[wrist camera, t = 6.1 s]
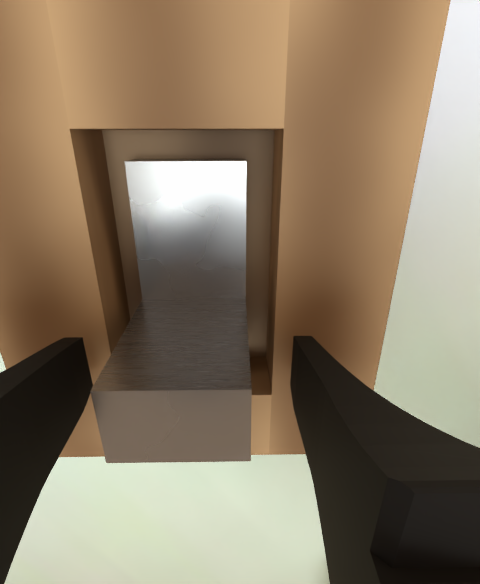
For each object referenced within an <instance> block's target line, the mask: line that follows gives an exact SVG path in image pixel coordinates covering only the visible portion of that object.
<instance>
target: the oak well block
mask: <svg viewBox="0 0 480 584" xmlns="http://www.w3.org/2000/svg"><path fill="white" fill-rule="evenodd" d="M449 5H450V0H0V352H1V355H2V358H3V361H4V364H5V367H6V370H7V369H8V368H10V367H12V366H14V365H15V364H17V363H19V362H21V361H22V360H24V359H26V358H28V357H29V356H31V355H33V354H34V353H36V352H38V351H40V350H41V349H43V348H45V347H47V346H48V345H50V344H52V343H54V342H56V341H58V340H60V339H62V338H64V337H83V342H84V346H85V351H86V355H87V360H88V365H89V369H90V374H91V378H92V383H93V385H94V384H95V382H96V380H97V378H98V377H99V375H100V373H101V371H102V370H103V368H104V366H105V364H106V362H107V361H108V359H109V357H110V355H111V354H112V352H113V350H114V348H115V347H116V345H117V343H118V341H119V340H120V338H121V336H122V334H123V333H124V331H125V329H126V327H127V326H128V324H129V322H130V320H131V318H132V317H133V315H134V313H135V311H136V310H137V308H138V306H139V304H140V303H141V301H142V292H141V285H140V277H139V269H138V262H137V254H136V246H135V238H134V231H133V223H132V215H131V208H130V200H129V192H128V185H127V177H126V169H125V161H129V160H133V159H246V311H247V326H248V341H249V356H250V371H251V386H252V403H251V455H269V454H306V452H305V449H304V445H303V442H302V438H301V434H300V431H299V427H298V424H297V420H296V416H295V413H294V408H293V401H292V394H291V387H290V378H291V364H292V350H293V337H294V336H312V337H313V338H314V339H315V340H316V341H317V342H318V343H319V344H320V345H321V346H322V347H323V348H324V349H325V350H326V351H327V352H328V353H329V354H330V355H332V356H333V357H334V358H335V359H336V360H337V361H338V362H339V363H340V364H341V365H342V366H343V367H345V368H346V369H347V370H348V371H349V372H350V373H352V374H353V375H354V376H355V377H356V378H358V379H359V380H360V381H361V382H363V383H364V384H365V385H366V386H368V387H369V388H370V389H372V390H374V385H375V380H376V375H377V370H378V365H379V360H380V355H381V350H382V345H383V339H384V334H385V329H386V324H387V319H388V314H389V309H390V304H391V299H392V294H393V289H394V284H395V279H396V274H397V269H398V264H399V258H400V253H401V248H402V243H403V238H404V233H405V228H406V223H407V218H408V213H409V208H410V203H411V198H412V193H413V188H414V183H415V177H416V172H417V167H418V162H419V157H420V152H421V147H422V142H423V137H424V132H425V127H426V122H427V117H428V112H429V107H430V102H431V96H432V91H433V86H434V81H435V76H436V71H437V66H438V61H439V56H440V51H441V46H442V41H443V36H444V31H445V26H446V21H447V15H448V10H449ZM98 456H105V455H104V450H103V446H102V441H101V437H100V433H99V428H98V424H97V419H96V415H95V410H94V406H93V402H92V397H91V393H90V396H89V399H88V401H87V404H86V406H85V409H84V411H83V413H82V415H81V417H80V419H79V421H78V423H77V425H76V426H75V428H74V430H73V432H72V434H71V436H70V437H69V439H68V441H67V443H66V445H65V446H64V448H63V450H62V452H61V454H60V455H59V457H98Z"/></svg>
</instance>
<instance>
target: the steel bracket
mask: <svg viewBox="0 0 480 584" xmlns="http://www.w3.org/2000/svg"><path fill="white" fill-rule="evenodd" d="M125 169H126V177H127V185H128V192H129V200H130V208H131V215H132V223H133V231H134V238H135V246H136V254H137V262H138V269H139V277H140V285H141V292H142V301H141V303H140V304H139V306H138V308H137V310H136V311H135V313H134V315H133V317H132V318H131V320H130V322H129V324H128V326H127V327H126V329H125V331H124V333H123V334H122V336H121V338H120V340H119V341H118V343H117V345H116V347H115V348H114V350H113V352H112V354H111V355H110V357H109V359H108V361H107V362H106V364H105V366H104V368H103V370H102V371H101V373H100V375H99V377H98V378H97V380H96V382H95V384H94V385H93V387H92V389H91V391H90V393H91V397H92V402H93V406H94V410H95V415H96V419H97V424H98V428H99V433H100V437H101V441H102V446H103V450H104V455H105V459H106V463H138V462H219V461H251V403H252V386H251V371H250V356H249V341H248V326H247V311H246V159H133V160H129V161H125Z"/></svg>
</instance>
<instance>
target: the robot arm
mask: <svg viewBox="0 0 480 584" xmlns="http://www.w3.org/2000/svg"><path fill="white" fill-rule="evenodd" d="M92 387H93V383H92V378H91V374H90V369H89V365H88V360H87V355H86V351H85V346H84V342H83V337H64V338H62V339H60V340H58V341H56V342H54V343H52V344H50V345H48V346H47V347H45V348H43V349H41V350H40V351H38V352H36V353H34V354H33V355H31V356H29V357H28V358H26V359H24V360H22V361H21V362H19V363H17V364H15V365H14V366H12V367H10V368H8V369H7V370H5V371H3V372H1V373H0V584H4V583H5V580H6V577H7V574H8V572H9V569H10V566H11V563H12V561H13V558H14V555H15V553H16V550H17V548H18V545H19V543H20V540H21V538H22V535H23V533H24V530H25V528H26V525H27V523H28V520H29V518H30V515H31V513H32V511H33V508H34V506H35V504H36V501H37V499H38V497H39V494H40V492H41V490H42V488H43V486H44V484H45V482H46V480H47V478H48V476H49V474H50V472H51V470H52V468H53V466H54V465H55V463H56V461H57V459H58V457H59V455H60V454H61V452H62V450H63V448H64V446H65V445H66V443H67V441H68V439H69V437H70V436H71V434H72V432H73V430H74V428H75V426H76V425H77V423H78V421H79V419H80V417H81V415H82V413H83V411H84V409H85V406H86V404H87V401H88V399H89V396H90V391H91V389H92ZM290 387H291V394H292V401H293V408H294V413H295V416H296V420H297V424H298V427H299V431H300V434H301V438H302V442H303V445H304V449H305V452H306V456H307V459H308V463H309V467H310V470H311V474H312V479H313V483H314V488H315V494H316V499H317V505H318V511H319V516H320V523H321V529H322V535H323V541H324V547H325V553H326V560H327V566H328V573H329V580H330V584H480V448H478V447H476V446H473V445H471V444H468V443H466V442H464V441H462V440H459V439H457V438H455V437H453V436H451V435H449V434H447V433H445V432H442V431H440V430H438V429H436V428H434V427H432V426H431V425H429V424H427V423H425V422H423V421H421V420H419V419H418V418H416V417H414V416H412V415H411V414H409V413H407V412H405V411H404V410H402V409H400V408H399V407H397V406H395V405H394V404H392V403H391V402H389V401H388V400H386V399H385V398H383V397H382V396H380V395H379V394H377V393H376V392H375V391H373V390H372V389H370V388H369V387H368V386H366V385H365V384H364V383H363V382H361V381H360V380H359V379H358V378H356V377H355V376H354V375H353V374H352V373H350V372H349V371H348V370H347V369H346V368H345V367H343V366H342V365H341V364H340V363H339V362H338V361H337V360H336V359H335V358H334V357H333V356H332V355H330V354H329V353H328V352H327V351H326V350H325V349H324V348H323V347H322V346H321V345H320V344H319V343H318V342H317V341H316V340H315V339H314V338H313V337H312V336H294V337H293V350H292V364H291V378H290Z"/></svg>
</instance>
